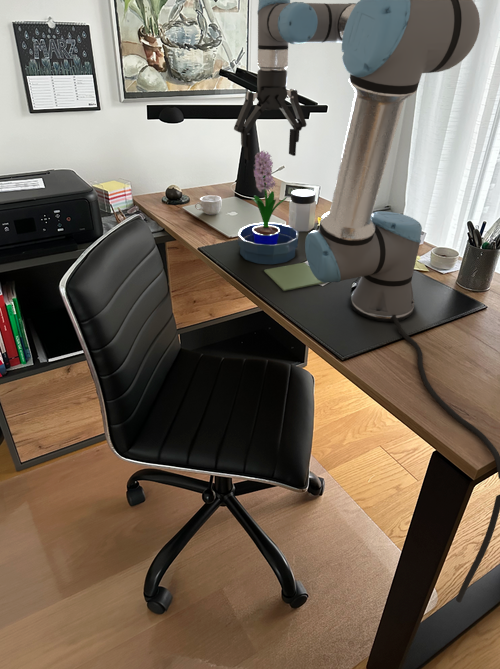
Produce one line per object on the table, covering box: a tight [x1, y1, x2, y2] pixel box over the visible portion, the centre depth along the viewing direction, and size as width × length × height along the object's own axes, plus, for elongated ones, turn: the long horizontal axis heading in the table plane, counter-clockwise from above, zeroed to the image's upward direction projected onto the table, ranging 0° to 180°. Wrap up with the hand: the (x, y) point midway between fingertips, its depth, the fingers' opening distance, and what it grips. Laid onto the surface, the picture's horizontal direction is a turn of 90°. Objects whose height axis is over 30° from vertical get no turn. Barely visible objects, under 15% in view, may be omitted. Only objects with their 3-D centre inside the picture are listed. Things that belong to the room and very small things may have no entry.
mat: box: [263, 262, 325, 292], centre depth 132 cm, size 13×13×1 cm
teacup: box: [194, 194, 222, 216], centre depth 174 cm, size 10×8×5 cm
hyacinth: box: [251, 149, 288, 245], centre depth 138 cm, size 9×10×30 cm
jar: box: [287, 188, 317, 232], centre depth 161 cm, size 9×8×12 cm
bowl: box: [237, 222, 300, 265], centre depth 144 cm, size 18×18×6 cm
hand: (270, 157), depth 131 cm, fingers open, 13 cm apart
